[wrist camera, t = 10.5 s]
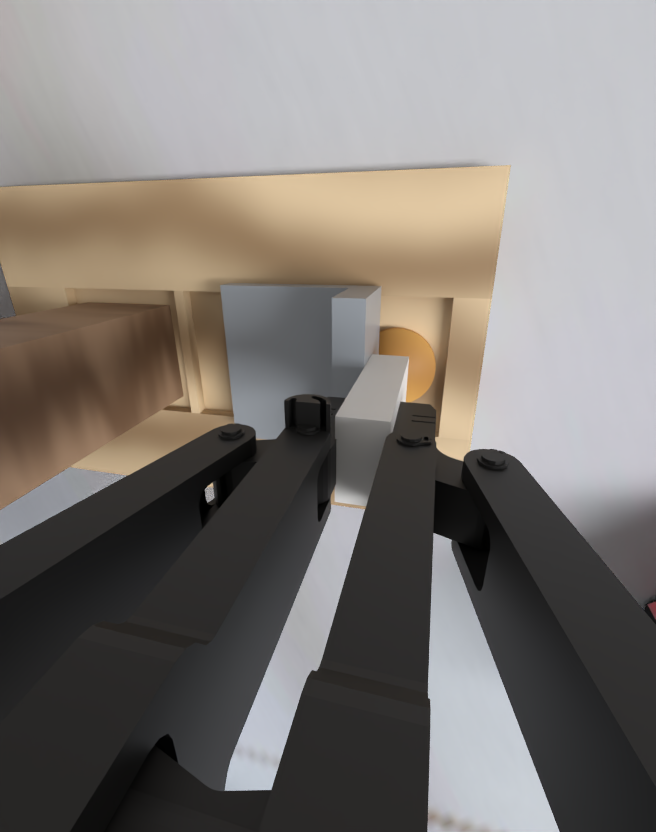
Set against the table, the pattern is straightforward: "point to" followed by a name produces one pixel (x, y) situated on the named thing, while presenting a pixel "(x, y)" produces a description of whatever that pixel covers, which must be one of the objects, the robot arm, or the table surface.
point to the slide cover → (295, 345)
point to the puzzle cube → (651, 611)
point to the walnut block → (78, 384)
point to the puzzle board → (270, 274)
